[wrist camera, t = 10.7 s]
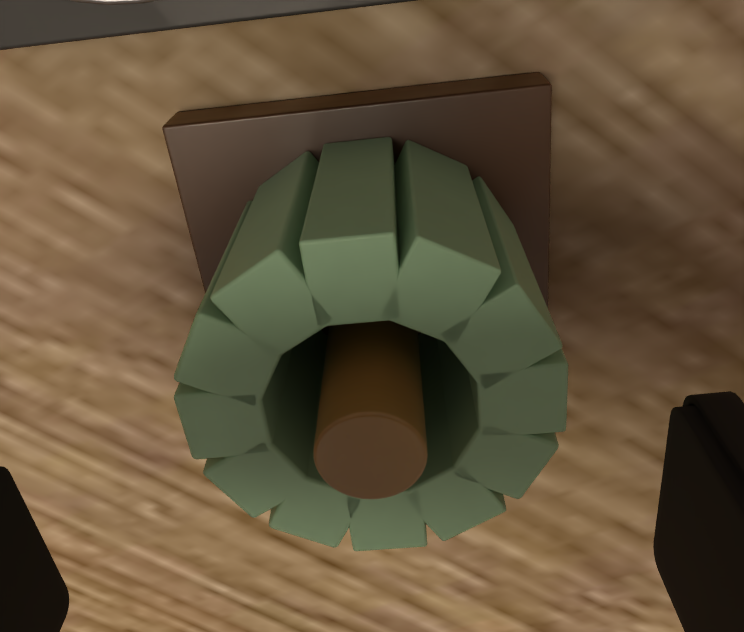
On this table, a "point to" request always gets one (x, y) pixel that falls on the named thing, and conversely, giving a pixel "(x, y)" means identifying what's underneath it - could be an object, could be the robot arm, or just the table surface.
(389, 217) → the ring
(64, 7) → the hob
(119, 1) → the burner
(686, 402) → the robot arm
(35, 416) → the table surface
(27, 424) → the table surface
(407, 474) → the peg stand
